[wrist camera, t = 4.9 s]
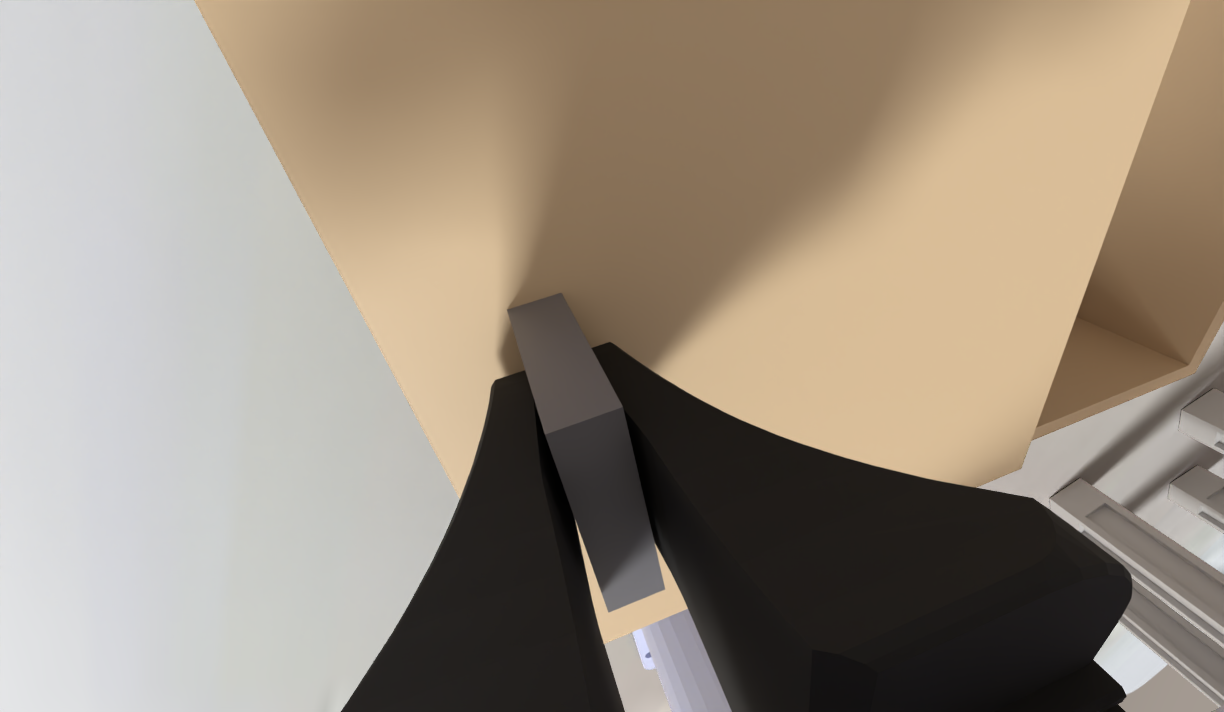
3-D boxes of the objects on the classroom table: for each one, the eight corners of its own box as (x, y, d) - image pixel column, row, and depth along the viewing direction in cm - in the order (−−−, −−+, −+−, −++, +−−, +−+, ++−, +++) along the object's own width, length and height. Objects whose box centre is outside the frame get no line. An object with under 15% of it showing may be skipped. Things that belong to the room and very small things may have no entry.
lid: (1004, 456, 18) (1137, 553, 15) (545, 647, 16) (578, 814, 12) (1297, -430, 8) (1979, -792, 4) (73, -261, 5) (-519, -765, 2)
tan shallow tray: (1058, 313, 23) (1195, 373, 19) (729, 437, 21) (803, 534, 17) (1268, -305, 13) (1651, -459, 9) (674, -197, 11) (828, -338, 7)
